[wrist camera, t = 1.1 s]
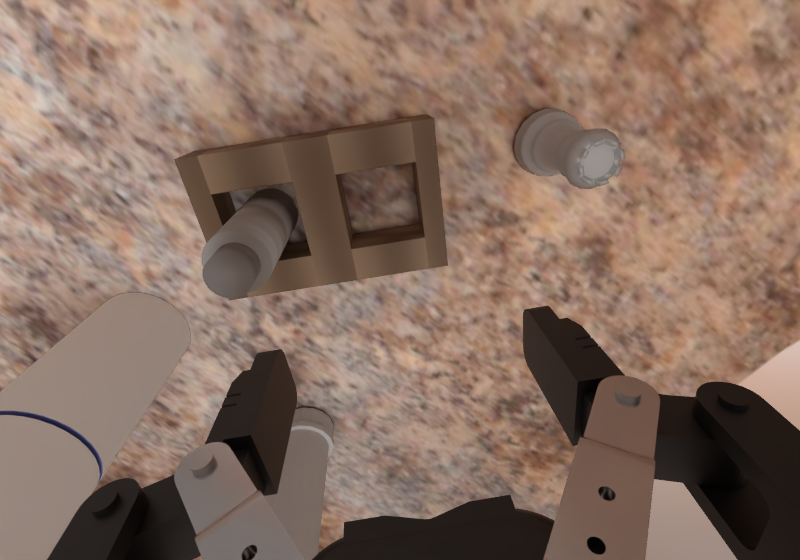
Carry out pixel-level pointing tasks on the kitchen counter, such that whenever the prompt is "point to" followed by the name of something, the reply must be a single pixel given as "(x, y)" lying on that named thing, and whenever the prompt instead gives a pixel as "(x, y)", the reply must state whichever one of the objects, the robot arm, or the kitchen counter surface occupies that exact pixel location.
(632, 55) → the kitchen counter surface
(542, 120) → the rook chess piece
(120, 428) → the cylindrical container
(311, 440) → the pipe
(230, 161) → the holder
